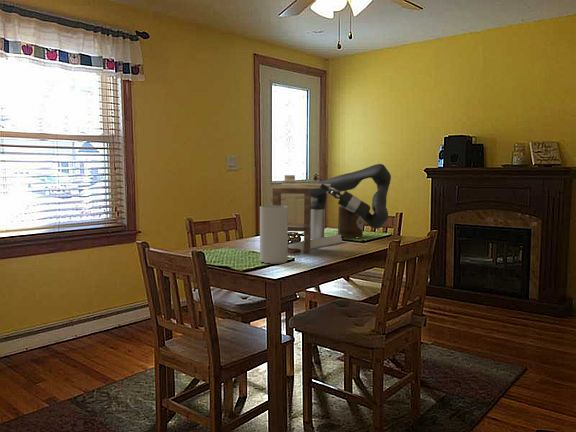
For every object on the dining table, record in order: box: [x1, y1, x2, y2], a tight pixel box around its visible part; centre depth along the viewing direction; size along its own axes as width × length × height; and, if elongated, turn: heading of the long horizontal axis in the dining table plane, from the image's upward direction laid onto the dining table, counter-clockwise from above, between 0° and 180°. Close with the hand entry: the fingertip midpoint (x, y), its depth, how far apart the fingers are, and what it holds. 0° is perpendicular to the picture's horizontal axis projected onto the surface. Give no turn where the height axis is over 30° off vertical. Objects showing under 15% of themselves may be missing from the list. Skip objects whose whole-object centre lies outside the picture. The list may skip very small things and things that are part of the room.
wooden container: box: [337, 205, 364, 239], centre depth 307 cm, size 15×15×22 cm
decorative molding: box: [288, 234, 343, 251], centre depth 279 cm, size 34×5×10 cm
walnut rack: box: [272, 186, 312, 255], centre depth 260 cm, size 16×18×32 cm
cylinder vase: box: [259, 204, 289, 265], centre depth 232 cm, size 12×12×25 cm
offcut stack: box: [282, 174, 296, 184], centre depth 262 cm, size 4×6×6 cm
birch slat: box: [280, 183, 330, 188], centre depth 254 cm, size 4×24×2 cm, turn 85°
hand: (321, 185), depth 254 cm, fingers open, 8 cm apart
